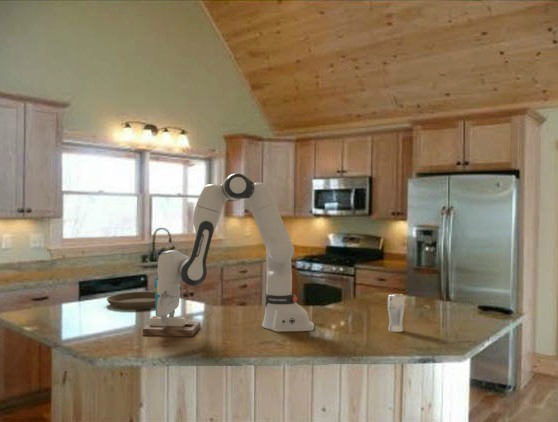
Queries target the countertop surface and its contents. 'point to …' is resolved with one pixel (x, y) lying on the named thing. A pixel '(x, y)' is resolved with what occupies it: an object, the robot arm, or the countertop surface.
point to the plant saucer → (133, 300)
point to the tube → (156, 293)
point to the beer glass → (395, 312)
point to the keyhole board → (173, 329)
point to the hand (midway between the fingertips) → (168, 323)
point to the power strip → (170, 321)
